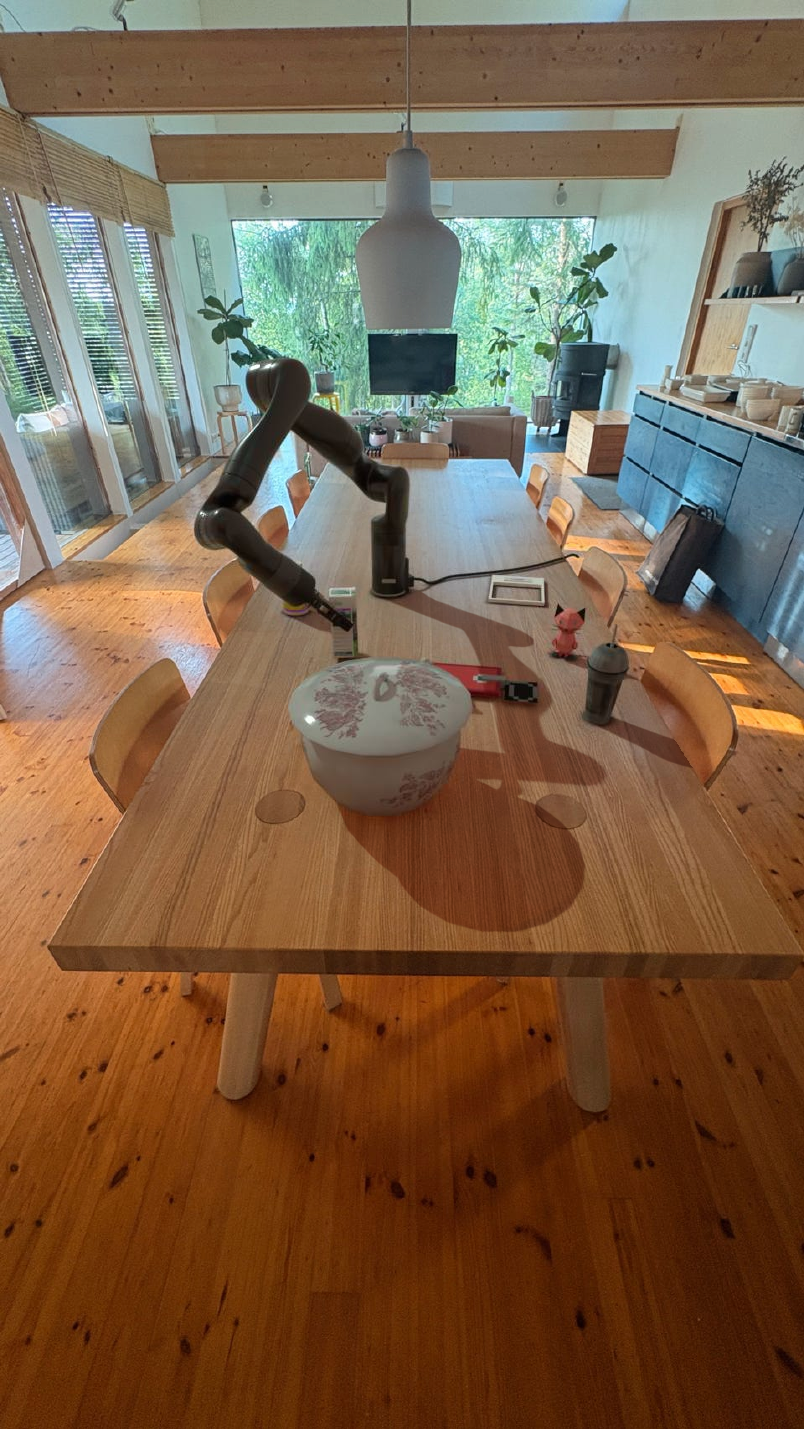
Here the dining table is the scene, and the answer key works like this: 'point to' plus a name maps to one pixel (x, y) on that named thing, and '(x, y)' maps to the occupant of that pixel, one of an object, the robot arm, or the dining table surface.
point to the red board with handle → (491, 682)
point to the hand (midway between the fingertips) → (342, 621)
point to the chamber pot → (381, 731)
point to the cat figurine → (567, 630)
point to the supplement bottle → (295, 610)
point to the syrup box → (346, 605)
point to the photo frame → (521, 583)
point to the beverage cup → (604, 680)
